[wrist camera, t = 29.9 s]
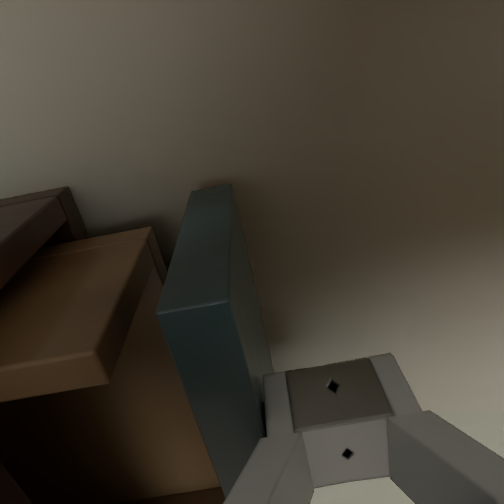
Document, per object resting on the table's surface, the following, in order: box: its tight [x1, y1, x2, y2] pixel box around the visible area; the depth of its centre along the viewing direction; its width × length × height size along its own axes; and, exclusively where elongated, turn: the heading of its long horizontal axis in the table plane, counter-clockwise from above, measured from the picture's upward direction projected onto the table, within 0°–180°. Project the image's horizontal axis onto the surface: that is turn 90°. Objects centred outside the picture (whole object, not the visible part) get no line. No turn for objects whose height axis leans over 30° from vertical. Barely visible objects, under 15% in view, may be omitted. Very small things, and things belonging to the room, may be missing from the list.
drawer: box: [0, 184, 274, 504], centre depth 12 cm, size 15×13×6 cm
